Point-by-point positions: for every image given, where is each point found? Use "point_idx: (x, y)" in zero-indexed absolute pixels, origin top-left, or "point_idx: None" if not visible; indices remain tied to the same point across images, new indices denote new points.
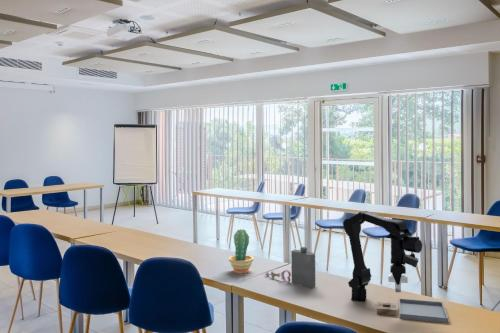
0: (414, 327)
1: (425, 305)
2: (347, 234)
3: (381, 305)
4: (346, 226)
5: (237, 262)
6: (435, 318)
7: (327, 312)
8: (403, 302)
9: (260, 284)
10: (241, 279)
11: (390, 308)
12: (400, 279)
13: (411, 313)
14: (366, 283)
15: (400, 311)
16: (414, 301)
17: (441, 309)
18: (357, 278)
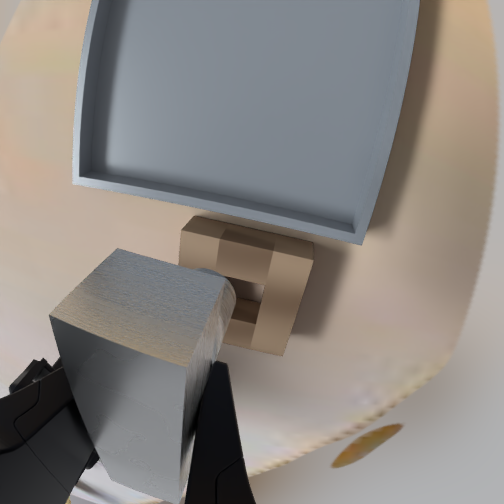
0: (483, 189)
1: (128, 15)
2: None
3: (233, 326)
4: None
5: (69, 502)
6: (415, 16)
7: (273, 459)
8: (94, 149)
9: (108, 484)
10: (98, 490)
11: (284, 289)
12: (195, 412)
13: (290, 135)
14: (41, 369)
15: (319, 229)
16: (90, 80)
17: None
18: (94, 461)
